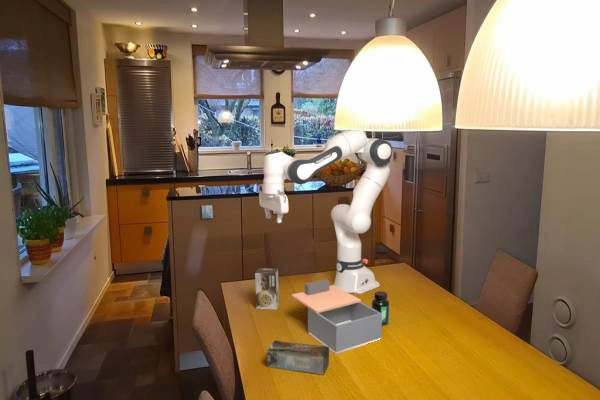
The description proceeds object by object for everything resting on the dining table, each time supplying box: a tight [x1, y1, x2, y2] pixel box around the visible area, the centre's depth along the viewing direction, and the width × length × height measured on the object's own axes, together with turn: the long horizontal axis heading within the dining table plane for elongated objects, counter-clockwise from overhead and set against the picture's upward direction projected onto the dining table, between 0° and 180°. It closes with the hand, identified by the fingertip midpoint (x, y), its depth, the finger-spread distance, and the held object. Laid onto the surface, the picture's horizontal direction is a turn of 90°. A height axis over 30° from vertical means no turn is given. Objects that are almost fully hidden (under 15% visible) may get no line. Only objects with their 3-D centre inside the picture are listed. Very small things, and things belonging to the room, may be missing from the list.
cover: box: [291, 279, 362, 313], centre depth 171 cm, size 20×18×5 cm
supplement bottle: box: [371, 290, 390, 327], centre depth 174 cm, size 7×7×12 cm
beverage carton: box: [266, 339, 330, 376], centre depth 144 cm, size 8×19×7 cm, turn 76°
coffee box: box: [254, 267, 280, 311], centre depth 188 cm, size 9×6×16 cm
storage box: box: [307, 301, 383, 355], centre depth 162 cm, size 20×18×10 cm
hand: (273, 220), depth 193 cm, fingers open, 8 cm apart
